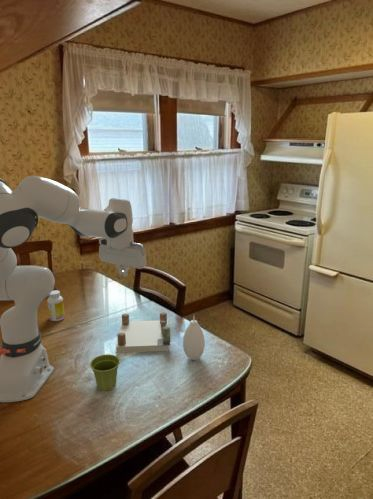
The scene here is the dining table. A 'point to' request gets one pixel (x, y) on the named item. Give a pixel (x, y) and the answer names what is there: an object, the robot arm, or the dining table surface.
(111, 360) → the plant pot
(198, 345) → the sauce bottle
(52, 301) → the supplement bottle
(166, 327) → the swing leg
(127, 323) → the stool seat
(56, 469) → the dining table surface
